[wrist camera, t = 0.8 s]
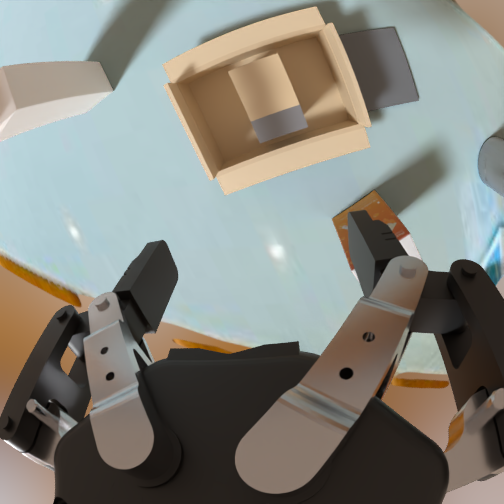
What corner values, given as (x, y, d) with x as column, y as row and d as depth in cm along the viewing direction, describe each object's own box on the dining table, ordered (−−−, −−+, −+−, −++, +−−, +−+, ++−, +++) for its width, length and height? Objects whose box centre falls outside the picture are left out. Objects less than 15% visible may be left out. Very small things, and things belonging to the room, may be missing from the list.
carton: (310, 17, 24) (320, -2, 17) (358, 139, 33) (379, 153, 26) (176, 67, 29) (152, 62, 22) (230, 182, 37) (221, 204, 31)
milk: (100, 61, 27) (-20, 68, 9) (114, 91, 30) (-7, 115, 12) (72, 85, 29) (-42, 111, 10) (86, 114, 32) (-29, 155, 13)
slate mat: (391, 28, 23) (393, 27, 22) (416, 100, 28) (418, 100, 28) (333, 37, 25) (334, 36, 25) (361, 112, 31) (363, 112, 30)
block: (275, 63, 28) (277, 53, 20) (299, 118, 32) (308, 127, 24) (238, 76, 29) (227, 71, 22) (262, 131, 33) (260, 143, 25)
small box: (374, 188, 36) (411, 232, 25) (392, 219, 39) (428, 269, 28) (329, 218, 40) (350, 271, 29) (350, 247, 42) (373, 303, 31)
